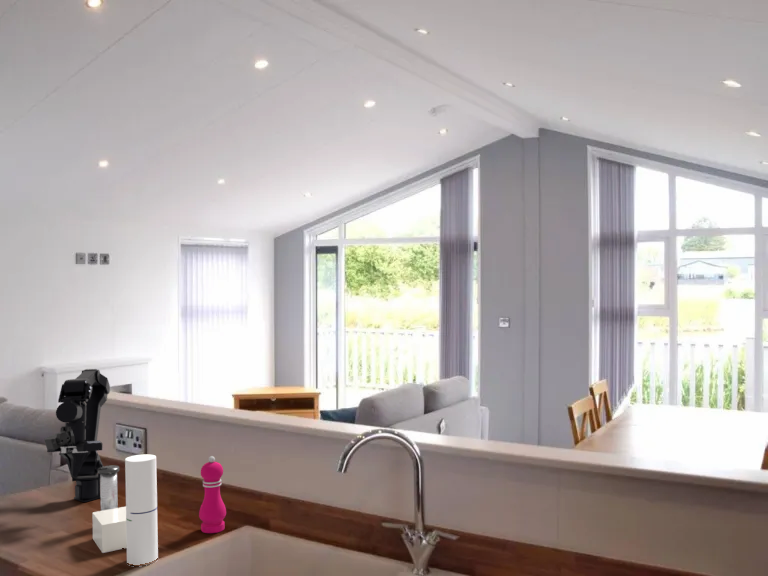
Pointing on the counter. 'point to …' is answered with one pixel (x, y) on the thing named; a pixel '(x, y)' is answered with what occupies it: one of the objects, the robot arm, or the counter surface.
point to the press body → (110, 529)
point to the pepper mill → (212, 498)
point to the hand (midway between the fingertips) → (73, 477)
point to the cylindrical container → (141, 509)
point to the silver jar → (108, 487)
